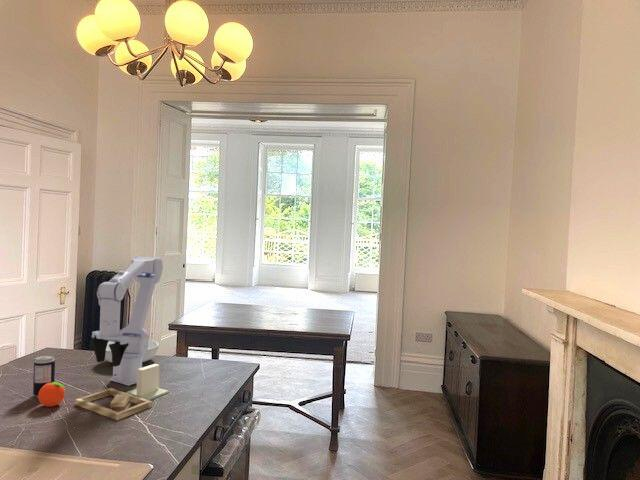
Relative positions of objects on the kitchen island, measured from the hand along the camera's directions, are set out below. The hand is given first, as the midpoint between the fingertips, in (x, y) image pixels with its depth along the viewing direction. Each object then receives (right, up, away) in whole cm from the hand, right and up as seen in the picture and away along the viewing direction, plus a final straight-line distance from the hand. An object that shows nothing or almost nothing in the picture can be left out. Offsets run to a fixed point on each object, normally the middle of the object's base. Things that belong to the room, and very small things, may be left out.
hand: (108, 363), depth 146 cm
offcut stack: (+8, -11, -9) cm, 17 cm away
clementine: (-13, -11, -8) cm, 18 cm away
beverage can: (-20, -10, -1) cm, 22 cm away
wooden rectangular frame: (+5, -11, -7) cm, 13 cm away
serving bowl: (-8, -9, +36) cm, 38 cm away
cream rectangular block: (+11, -10, +4) cm, 15 cm away
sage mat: (+11, -11, +4) cm, 16 cm away
